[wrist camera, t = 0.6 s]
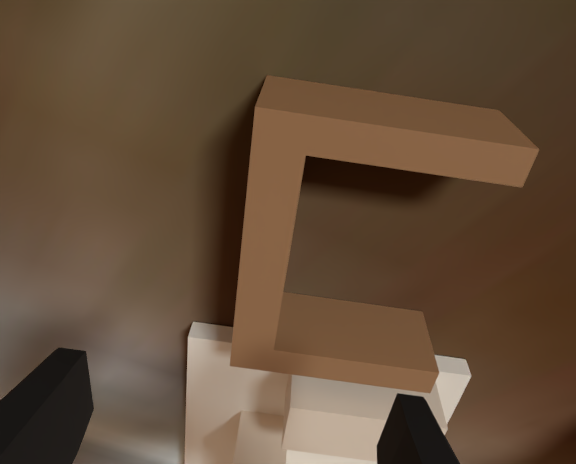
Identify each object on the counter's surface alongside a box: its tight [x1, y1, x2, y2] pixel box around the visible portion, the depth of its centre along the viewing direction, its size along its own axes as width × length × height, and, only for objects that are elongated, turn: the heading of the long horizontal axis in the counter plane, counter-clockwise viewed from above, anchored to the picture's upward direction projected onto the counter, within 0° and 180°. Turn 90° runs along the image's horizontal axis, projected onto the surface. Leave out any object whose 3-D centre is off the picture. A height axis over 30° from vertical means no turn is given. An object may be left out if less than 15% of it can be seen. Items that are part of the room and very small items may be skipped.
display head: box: [184, 322, 471, 464], centre depth 24 cm, size 13×12×4 cm
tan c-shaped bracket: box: [230, 75, 539, 393], centre depth 17 cm, size 8×10×4 cm
